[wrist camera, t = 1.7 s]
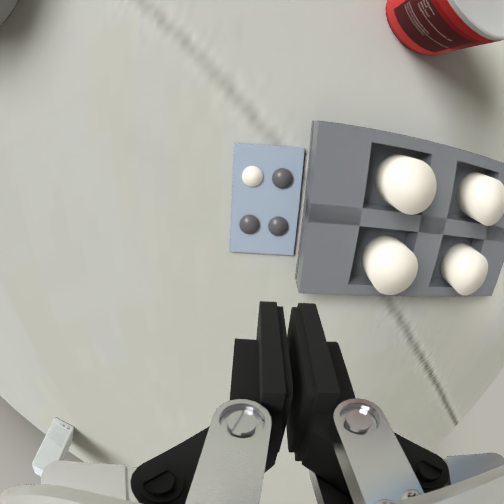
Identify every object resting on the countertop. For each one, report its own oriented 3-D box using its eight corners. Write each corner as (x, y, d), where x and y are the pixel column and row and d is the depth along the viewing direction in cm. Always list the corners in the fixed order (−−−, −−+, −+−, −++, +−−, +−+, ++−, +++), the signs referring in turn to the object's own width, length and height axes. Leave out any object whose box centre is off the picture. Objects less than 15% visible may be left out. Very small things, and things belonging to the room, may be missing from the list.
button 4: (477, 243, 26) (493, 255, 24) (465, 281, 28) (479, 295, 25) (446, 240, 26) (462, 252, 24) (435, 280, 28) (449, 295, 25)
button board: (508, 165, 26) (524, 171, 23) (478, 283, 31) (491, 295, 29) (236, 114, 25) (234, 113, 22) (228, 273, 31) (226, 289, 28)
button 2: (408, 236, 26) (423, 249, 23) (398, 279, 28) (410, 295, 25) (366, 232, 26) (377, 245, 23) (356, 277, 28) (366, 294, 25)
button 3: (491, 176, 24) (510, 183, 21) (483, 218, 25) (500, 228, 22) (461, 168, 23) (480, 174, 21) (453, 212, 25) (470, 223, 22)
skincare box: (54, 416, 43) (31, 463, 32) (74, 426, 44) (53, 475, 33) (55, 429, 46) (34, 473, 35) (73, 439, 46) (54, 484, 35)
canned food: (446, 1, 19) (510, -26, 9) (450, 66, 22) (523, 56, 12) (381, -22, 19) (432, -70, 9) (383, 45, 22) (445, 14, 12)
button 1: (422, 159, 23) (440, 164, 21) (414, 207, 25) (431, 217, 22) (378, 150, 23) (393, 154, 21) (371, 201, 25) (384, 211, 22)
